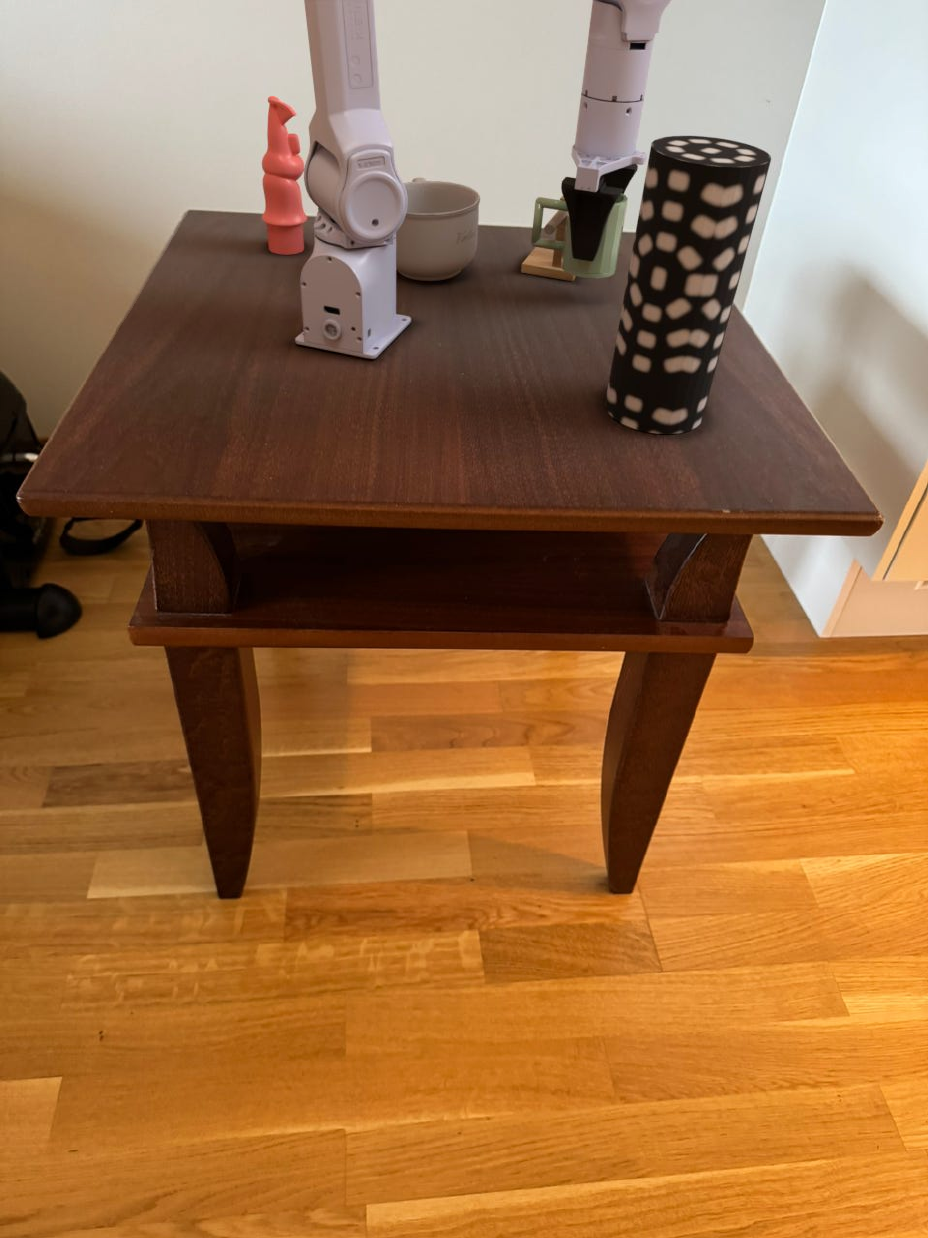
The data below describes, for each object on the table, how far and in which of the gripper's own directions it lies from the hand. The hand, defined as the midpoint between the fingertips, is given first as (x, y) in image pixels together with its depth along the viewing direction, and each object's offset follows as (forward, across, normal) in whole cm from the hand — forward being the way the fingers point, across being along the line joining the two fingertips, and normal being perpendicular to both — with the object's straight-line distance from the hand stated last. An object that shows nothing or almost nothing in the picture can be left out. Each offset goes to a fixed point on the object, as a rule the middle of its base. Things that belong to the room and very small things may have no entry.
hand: (590, 249), depth 88 cm
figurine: (+5, 0, +34) cm, 35 cm away
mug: (+2, 0, +2) cm, 3 cm away
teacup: (+5, +2, +18) cm, 19 cm away
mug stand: (+5, +5, +5) cm, 9 cm away
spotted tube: (+5, -21, -11) cm, 24 cm away
